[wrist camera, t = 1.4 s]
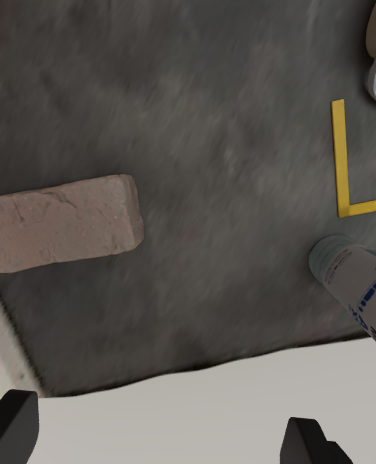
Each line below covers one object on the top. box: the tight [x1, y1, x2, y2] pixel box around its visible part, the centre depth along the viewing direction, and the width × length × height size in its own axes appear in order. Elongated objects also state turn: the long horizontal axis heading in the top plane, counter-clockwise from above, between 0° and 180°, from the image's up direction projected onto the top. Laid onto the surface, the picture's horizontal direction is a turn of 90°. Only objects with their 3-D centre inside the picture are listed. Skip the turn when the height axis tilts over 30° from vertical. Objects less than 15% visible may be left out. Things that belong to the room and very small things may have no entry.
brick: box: [0, 174, 144, 273], centre depth 32 cm, size 17×8×5 cm, turn 100°
